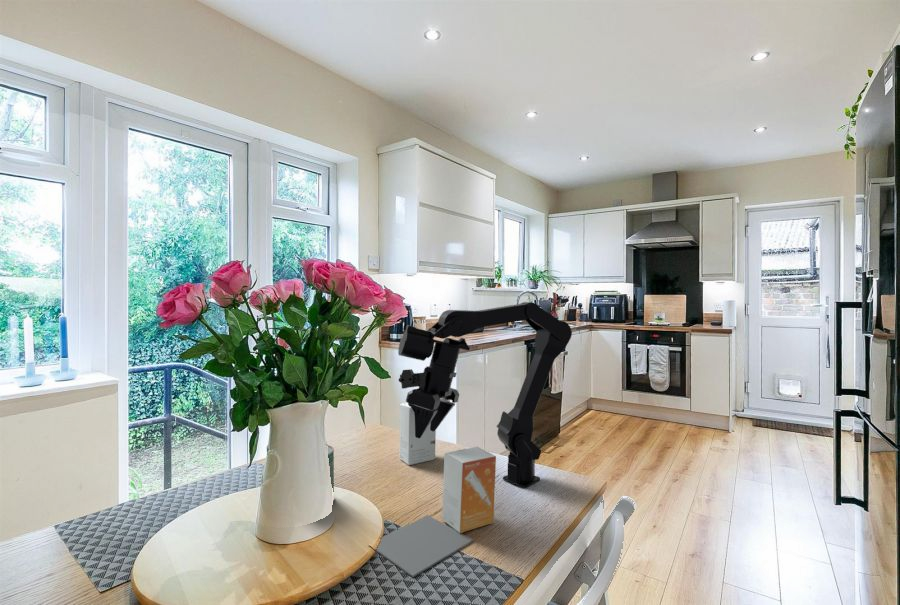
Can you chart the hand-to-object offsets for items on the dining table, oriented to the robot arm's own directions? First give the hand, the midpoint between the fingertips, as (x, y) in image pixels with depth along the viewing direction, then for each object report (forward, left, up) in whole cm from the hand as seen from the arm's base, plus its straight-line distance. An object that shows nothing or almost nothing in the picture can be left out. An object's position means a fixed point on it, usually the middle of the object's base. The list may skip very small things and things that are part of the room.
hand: (425, 434), depth 96 cm
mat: (+14, +14, -13) cm, 24 cm away
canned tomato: (+20, -13, -13) cm, 27 cm away
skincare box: (-11, -16, -13) cm, 23 cm away
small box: (+3, +15, -13) cm, 20 cm away
